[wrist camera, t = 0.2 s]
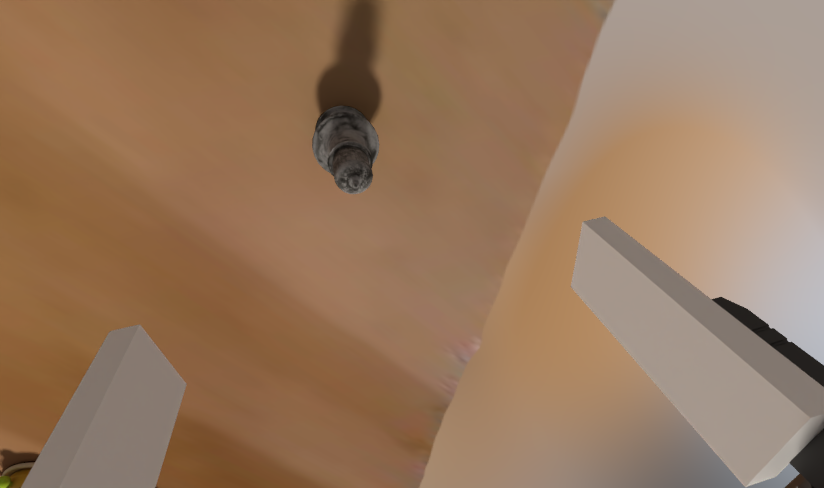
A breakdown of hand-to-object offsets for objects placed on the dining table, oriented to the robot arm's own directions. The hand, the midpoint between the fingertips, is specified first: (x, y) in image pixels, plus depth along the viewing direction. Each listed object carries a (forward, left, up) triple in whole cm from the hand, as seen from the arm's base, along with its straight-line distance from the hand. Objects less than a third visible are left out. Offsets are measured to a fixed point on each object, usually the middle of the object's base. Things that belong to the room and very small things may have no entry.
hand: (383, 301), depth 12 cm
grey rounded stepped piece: (+4, 0, -28) cm, 28 cm away
